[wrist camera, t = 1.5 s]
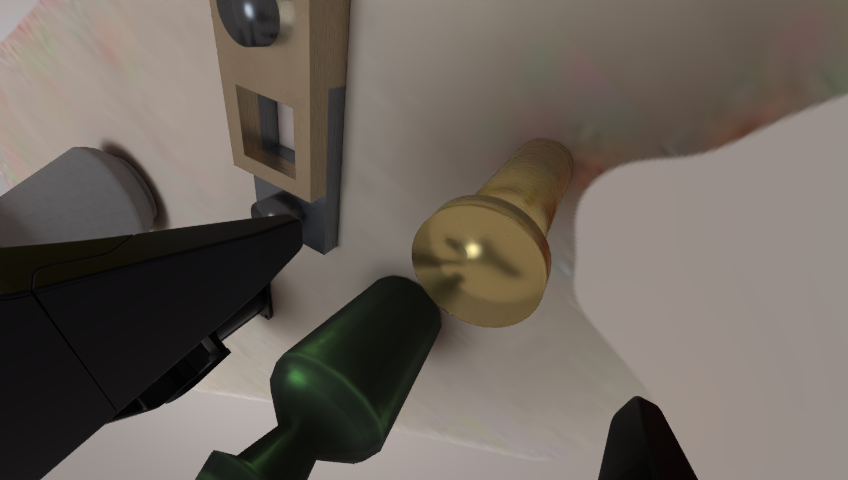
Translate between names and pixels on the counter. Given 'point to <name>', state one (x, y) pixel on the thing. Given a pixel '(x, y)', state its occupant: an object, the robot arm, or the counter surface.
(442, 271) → the pin
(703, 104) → the counter surface
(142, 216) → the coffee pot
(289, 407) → the potion bottle
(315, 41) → the knobbed window plate
